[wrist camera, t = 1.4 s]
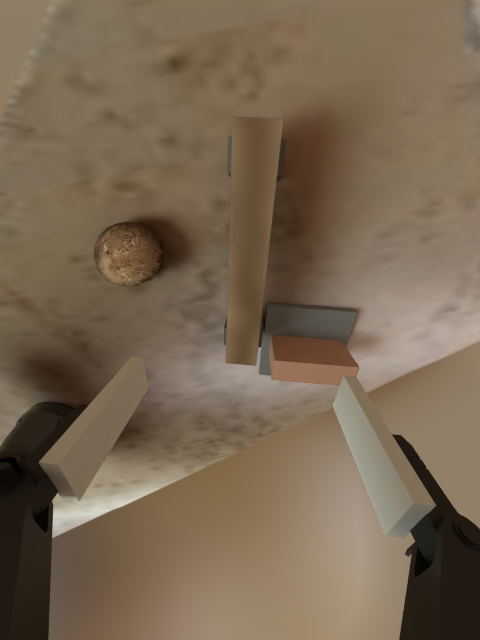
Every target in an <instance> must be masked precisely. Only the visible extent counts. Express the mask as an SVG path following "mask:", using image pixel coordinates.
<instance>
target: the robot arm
mask: <svg viewBox="0 0 480 640" xmlns="http://www.w3.org/2000/svg"><path fill="white" fill-rule="evenodd" d="M148 389H149V387H148V382H147V377H146V371H145V366H144V361H143V357H131V358H130V359H129V360H128V361H127V362H126V363H125V365H124V366H123V367H122V368H121V369H120V370H119V371H118V373H117V374H116V375H115V376H114V377H113V378H112V379H111V381H110V382H109V383H108V384H107V385H106V386H105V387H104V388H103V390H102V391H101V392H100V393H99V394H98V395H97V396H96V398H95V399H94V400H93V401H92V402H91V403H90V404H89V405H82V404H81V405H80V406H79V407H77V408H76V409H72V408H70V407H67V406H64V405H60V404H55V403H40V404H37V405H34V406H33V407H31V408H30V409H29V410H28V411H27V412H25V413H24V414H23V415H22V416H21V417H20V418H19V420H18V421H17V423H16V426H15V427H14V429H13V430H12V431H11V432H10V434H9V435H8V436H7V438H6V439H5V441H4V442H3V444H2V445H1V446H0V640H48V633H49V605H50V577H51V551H52V550H51V548H52V523H53V503H52V500H53V498H54V497H55V496H56V494H57V493H59V495H60V496H61V498H62V499H67V500H75V501H80V499H81V497H82V496H83V494H84V492H85V491H86V489H87V488H88V486H89V484H90V483H91V481H92V480H93V478H94V476H95V475H96V473H97V471H98V470H99V468H100V467H101V465H102V463H103V462H104V460H105V458H106V457H107V455H108V454H109V452H110V450H111V449H112V447H113V446H114V444H115V442H116V441H117V439H118V437H119V436H120V434H121V433H122V431H123V429H124V428H125V426H126V424H127V423H128V421H129V420H130V418H131V416H132V415H133V413H134V411H135V410H136V408H137V407H138V405H139V403H140V402H141V400H142V399H143V397H144V395H145V394H146V392H147V390H148ZM333 408H334V411H335V413H336V416H337V418H338V420H339V423H340V425H341V428H342V430H343V433H344V435H345V438H346V440H347V443H348V445H349V447H350V450H351V453H352V455H353V457H354V460H355V462H356V465H357V467H358V470H359V472H360V475H361V477H362V480H363V482H364V485H365V487H366V489H367V491H368V495H369V497H370V499H371V502H372V504H373V507H374V509H375V511H376V514H377V517H378V519H379V522H380V524H381V527H382V529H383V531H384V534H385V536H392V537H401V538H404V537H405V536H406V535H407V534H408V533H409V532H411V534H412V536H413V538H414V540H415V543H414V544H412V545H411V546H410V547H409V548H408V549H407V551H406V553H405V554H406V555H407V556H409V555H411V554H412V556H411V563H410V570H409V577H408V584H407V591H406V597H405V605H404V611H403V618H402V625H401V632H400V639H399V640H480V529H479V528H478V527H477V526H476V525H475V524H474V523H472V522H471V521H470V520H469V519H467V518H466V517H464V516H462V515H460V514H458V512H457V511H456V510H455V508H454V507H453V506H452V504H451V503H450V501H449V500H448V498H447V497H446V495H445V494H444V492H443V491H442V489H441V488H440V486H439V485H438V484H437V482H436V481H435V479H434V478H433V476H432V475H431V473H430V472H429V470H427V469H426V466H425V464H424V463H423V461H422V460H420V457H419V456H418V454H417V453H416V451H415V450H414V448H413V447H412V445H411V444H410V443H408V442H407V441H406V440H405V439H404V438H403V437H402V436H401V435H393V434H391V433H390V431H389V429H388V427H387V426H386V424H385V423H384V421H383V419H382V418H381V416H380V415H379V413H378V412H377V410H376V408H375V407H374V405H373V403H372V402H371V400H370V399H369V397H368V396H367V394H366V392H365V391H364V389H363V387H362V386H361V384H360V383H359V381H358V379H357V378H356V377H355V376H343V379H342V381H341V384H340V387H339V390H338V392H337V395H336V398H335V400H334V403H333Z"/></svg>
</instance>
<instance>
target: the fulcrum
mask: <svg viewBox="0 0 480 640" xmlns="http://www.w3.org/2000/svg"><path fill="white" fill-rule="evenodd" d="M357 313H358V312H357V311H356V310H355V309H341V308H328V307H314V306H301V305H287V304H273V303H267V311H266V319H265V327H264V335H263V344H262V352H261V360H260V368H259V374H262V375H271V378H272V380H281V381H293V382H304V383H316V384H328V385H339V386H340V384H341V381H342V379H343V376H355V377H356V376H357V373H358V371H359V368H360V367H359V366H358V364H357V363H356V361H355V360H354V359H353V357H352V356H351V354H350V353H349V351H348V350H347V348H346V345H347V342H348V339H349V337H350V334H351V331H352V328H353V325H354V322H355V319H356V316H357Z"/></svg>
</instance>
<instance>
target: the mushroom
mask: <svg viewBox="0 0 480 640" xmlns="http://www.w3.org/2000/svg"><path fill="white" fill-rule="evenodd" d="M163 257H164V253H163V243H162V241H161V240H160V238H159V236H158V234H157V232H155V231H154V230H153V229H151V228H150V227H148V226H147V225H145V224H142V223H134V222H123V223H118V224H115V225H113V226H110V227H108V228H106V229H105V230H104V231H103V233H102V234H101V235H100V236H99V237H98V239H97V242H96V244H95V247H94V260H95V263H96V267H97V270H98V271H99V273H100V274H101V275H102V276H103V277H104V278H105V279H106V280H107V281H108V282H111V283H113V284H116V285H119V286H137V285H139V284H141V283H143V282H145V281H146V282H147V281H150V280H152V279H153V278H154V277H155V274H156V272H157V271H158V270H159V268H160V265H161V263H162V260H163Z"/></svg>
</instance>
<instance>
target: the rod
mask: <svg viewBox="0 0 480 640" xmlns="http://www.w3.org/2000/svg"><path fill="white" fill-rule="evenodd" d="M282 126H283V119H274V118H251V117H233V121H232V157H231V193H230V228H229V264H228V300H227V336H226V363H231V364H243V365H255V366H256V361H257V352H258V343H259V334H260V325H261V316H262V307H263V298H264V289H265V280H266V271H267V262H268V253H269V244H270V235H271V225H272V216H273V207H274V198H275V189H276V180H277V171H278V162H279V153H280V144H281V135H282Z"/></svg>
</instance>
